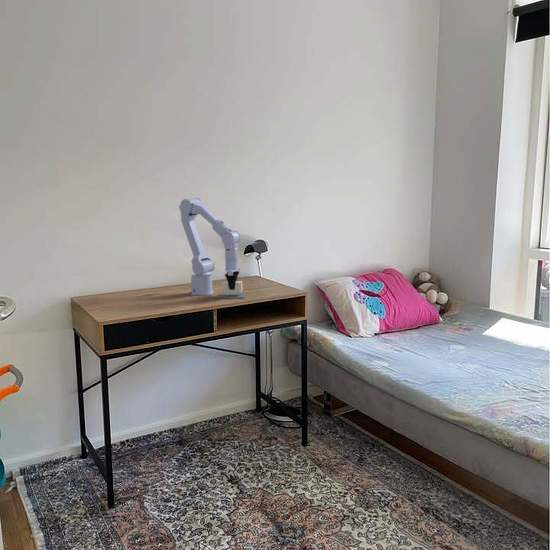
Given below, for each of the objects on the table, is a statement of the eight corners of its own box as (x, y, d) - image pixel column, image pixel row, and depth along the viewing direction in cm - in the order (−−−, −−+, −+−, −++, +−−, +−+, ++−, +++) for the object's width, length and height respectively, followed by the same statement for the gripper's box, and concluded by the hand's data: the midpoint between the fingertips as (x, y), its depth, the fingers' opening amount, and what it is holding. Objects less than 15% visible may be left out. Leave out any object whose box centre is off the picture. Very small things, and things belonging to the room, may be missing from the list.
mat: (217, 298, 242) (217, 297, 242) (219, 294, 251) (219, 293, 250) (244, 298, 241) (244, 297, 241) (245, 293, 250) (245, 293, 250)
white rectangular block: (241, 292, 243) (241, 282, 243) (222, 292, 244) (222, 283, 243) (242, 290, 247) (242, 281, 246) (223, 291, 248) (223, 281, 247)
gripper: (239, 261, 235) (239, 291, 238) (242, 256, 250) (243, 285, 252) (222, 261, 236) (223, 291, 238) (226, 256, 250) (227, 285, 252)
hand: (232, 288), depth 245 cm, fingers closed on white rectangular block, 4 cm apart
